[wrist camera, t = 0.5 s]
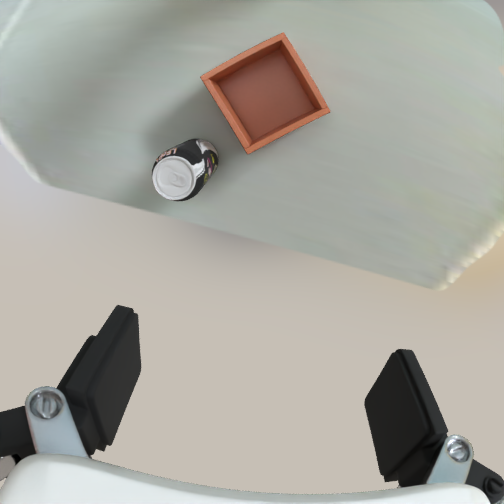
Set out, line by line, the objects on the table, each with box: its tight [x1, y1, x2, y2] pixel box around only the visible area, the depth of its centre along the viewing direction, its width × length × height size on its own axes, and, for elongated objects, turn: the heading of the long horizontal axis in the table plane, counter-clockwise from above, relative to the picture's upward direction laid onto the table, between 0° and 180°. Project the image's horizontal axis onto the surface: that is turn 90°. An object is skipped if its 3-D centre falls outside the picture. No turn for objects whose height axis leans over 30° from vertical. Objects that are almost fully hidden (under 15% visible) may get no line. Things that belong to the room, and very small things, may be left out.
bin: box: [200, 32, 330, 154], centre depth 34 cm, size 10×10×7 cm
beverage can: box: [152, 139, 218, 201], centre depth 36 cm, size 6×6×12 cm
